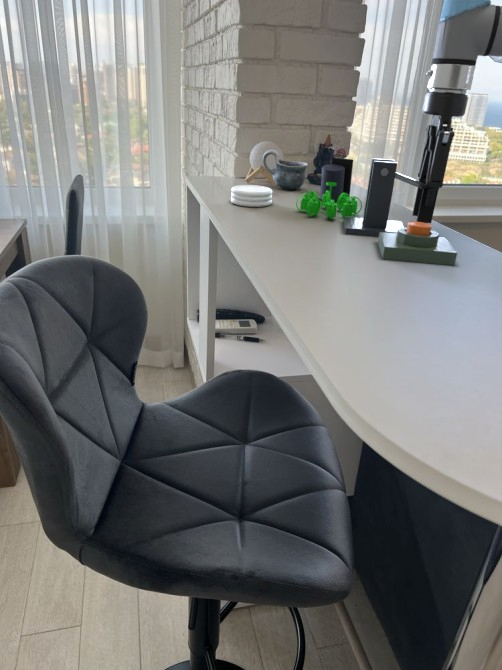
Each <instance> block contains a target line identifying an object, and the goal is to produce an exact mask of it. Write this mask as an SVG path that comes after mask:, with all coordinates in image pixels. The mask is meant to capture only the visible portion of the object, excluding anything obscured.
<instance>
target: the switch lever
mask: <svg viewBox="0 0 502 670" xmlns="http://www.w3.org/2000/svg"><path fill="white" fill-rule="evenodd" d="M396 179H397V180H399V181H401V182H404V183H406V184H409V185H411V186H414V187H416V188H417V189H418V188H421V185H425V184H424V183H422V182H419V180H418V179H417V180H416V179H414V178H412V177H409V176H406V175H405V174H401V173H399V172H397V171H396V175H395V180H396ZM421 189H422V188H421Z"/></svg>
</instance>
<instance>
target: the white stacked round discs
mask: <svg viewBox="0 0 502 670" xmlns="http://www.w3.org/2000/svg"><path fill="white" fill-rule="evenodd" d="M230 192H231V193H230V197H231V198H230V202H231V203H232V204H234V205H236V206H240V207H245V208H246V207H247V208H262V207H267V206H270V205H271V204H272V202H273V200H272V199H273V190H272V188H270V187H268V186H265V185H256V184H237V185H234V186H232V187H231V189H230Z"/></svg>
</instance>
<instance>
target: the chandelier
mask: <svg viewBox="0 0 502 670" xmlns="http://www.w3.org/2000/svg"><path fill="white" fill-rule="evenodd" d="M336 184H337V183H334V182H327V183H326V185H328V186H330V193H329V191H326V192H325V194H323V197H322V199H320V197H319V195H318V194H317V192H316V191H314V190H308V191H306V192H305V193H301V194H300V195H299V196H298V197H297V198H296V201H295V205H296V206H295V207H296V209H297V210H298V212H301V213H303V214H307V216H308V217H311V218H314V217H316V216H318V214H319V213H320V211H321V207H323V208H324V210H325V211H326V212H325V217H327V218H328V219H329V220H330V221H332V220H333V219H334V218H336V216H337V210H338V211H339V214H340V215H341V217H342V218H343V219H344V217H354V218H355V216H356V215H358V214H359V213H360V212H361V211H362V208H363V203H362V200H361V199H360V198H359V197H358V196H353V195H352V196H351V195H350V197H349V194H347V193H342V194H341V195H340V196H339V198H338V200H337V202H334V200H331V190H332V186H336ZM346 195H347V197H346ZM300 198H301V200H300ZM299 200H300V206H298V201H299ZM358 201H359V202H360V208H359V210H358ZM299 207H300V208H299ZM357 210H358V211H357Z"/></svg>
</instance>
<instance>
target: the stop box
mask: <svg viewBox="0 0 502 670" xmlns="http://www.w3.org/2000/svg"><path fill="white" fill-rule="evenodd" d="M406 231H407V226H404V227H402V228H399V229H398V230H397V233H386V232H379V237H378V239H377V245H378V249H379V252H380V255H381V258H382V260H387V261H388V260H389V261H401V262H412V263H421V264H423V263H424V264H435V265H445V266H455V265H456V261H457V260H456V259H457V255H458V252H457V251H456V249H455V248H454V246H452V244H451V243H450V242H449V240H448V239H447V238H446V237H443V236H440V234H439V233H438V232H437V231H435V230H432V229H431V231H430V235H425V236H422V235H414V234H410V233H407V232H406Z"/></svg>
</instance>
